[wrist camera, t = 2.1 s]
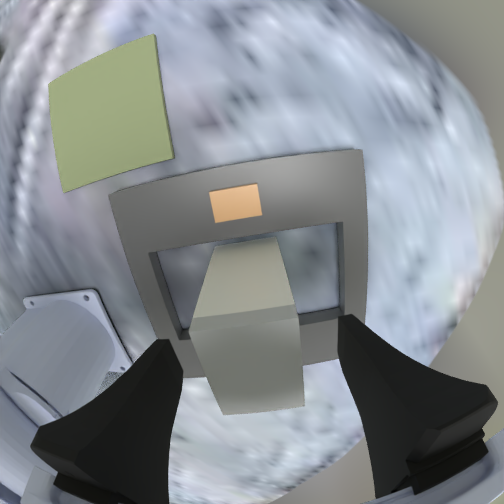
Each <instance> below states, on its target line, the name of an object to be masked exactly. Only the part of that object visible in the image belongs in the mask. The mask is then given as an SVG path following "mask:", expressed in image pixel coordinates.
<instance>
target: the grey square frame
mask: <svg viewBox="0 0 504 504" xmlns="http://www.w3.org/2000/svg"><path fill="white" fill-rule="evenodd" d="M109 199H110V203H111V207H112V211H113V215H114V218H115V222H116V225H117V229H118V232H119V236H120V239H121V242H122V245H123V249H124V252H125V255H126V258H127V261H128V264H129V267H130V270H131V272H132V275H133V278H134V281H135V284H136V286H137V289H138V292H139V294H140V297H141V300H142V302H143V305H144V307H145V310H146V312H147V315H148V317H149V319H150V322H151V324H152V326H153V329H154V331H155V333H156V336H157V338H158V339H169V340H170V342H171V344H172V346H173V349H174V351H175V353H176V356H177V358H178V360H179V362H180V364H181V366H182V369H183V371H184V372H183V378H196V377H206V375H205V373H204V370H203V368H202V365H201V363H200V360H199V358H198V355H197V353H196V350H195V348H194V345H193V343H192V340H191V337H190V335H189V329H185V330H182V327H181V324H180V322H179V319H178V316H177V313H176V311H175V308H174V305H173V302H172V299H171V296H170V294H169V291H168V288H167V285H166V282H165V278H164V275H163V272H162V269H161V266H160V263H159V259H158V256H157V253H156V251H162V250H167V249H173V248H179V247H185V246H191V245H196V244H202V243H208V242H214V241H220V240H226V239H232V238H239V237H245V236H251V235H257V234H264V233H270V232H276V231H283V230H289V229H296V228H302V227H309V226H316V225H322V224H329V223H336V222H337V232H338V251H339V285H340V307H338V308H333V309H328V310H323V311H317V312H312V313H306V314H300V315H298V318H299V329H300V341H301V354H302V366H304V365H310V364H315V363H320V362H325V361H330V360H335V359H339V357H338V353H337V343H338V316H343V315H348V314H353V315H354V316H355V317H357V318H358V319H359V320H360V321H361V322H362V323H364V324H365V315H366V300H367V278H368V219H367V197H366V183H365V170H364V160H363V151H362V150H360V149H349V150H336V151H325V152H314V153H305V154H297V155H289V156H281V157H274V158H267V159H260V160H254V161H248V162H242V163H236V164H230V165H225V166H220V167H214V168H209V169H204V170H200V171H195V172H190V173H186V174H181V175H177V176H173V177H169V178H164V179H160V180H156V181H152V182H149V183H145V184H141V185H137V186H134V187H130V188H127V189H123V190H120V191H117V192H114V193H112V194H109Z"/></svg>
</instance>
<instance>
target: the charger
mask: <svg viewBox="0 0 504 504" xmlns="http://www.w3.org/2000/svg"><path fill="white" fill-rule="evenodd" d="M189 335H190V337H191V340H192V343H193V345H194V348H195V350H196V353H197V355H198V358H199V360H200V363H201V365H202V368H203V370H204V373H205V375H206V377H207V380H208V382H209V385H210V387H211V389H212V391H213V394H214V396H215V398H216V400H217V403H218V405H219V407H220V409H221V411H222V414H223V415H234V414H248V413H258V412H267V411H276V410H283V409H290V408H296V407H302V406H305V399H304V382H303V367H302V354H301V341H300V329H299V318H298V314H297V310H296V306H295V303H294V299H293V295H292V292H291V288H290V284H289V281H288V277H287V274H286V270H285V266H284V263H283V259H282V256H281V252H280V249H279V245H278V242H277V238H276V236H275V237H269V238H262V239H256V240H250V241H244V242H237V243H231V244H225V245H219V246H215V248H214V251H213V254H212V257H211V260H210V263H209V266H208V269H207V273H206V276H205V279H204V282H203V285H202V288H201V292H200V295H199V298H198V301H197V305H196V308H195V311H194V315H193V318H192V321H191V325H190V328H189Z"/></svg>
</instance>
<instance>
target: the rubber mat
mask: <svg viewBox="0 0 504 504" xmlns="http://www.w3.org/2000/svg"><path fill="white" fill-rule="evenodd" d="M48 88H49V105H50V117H51V126H52V134H53V142H54V148H55V154H56V160H57V166H58V171H59V176H60V180H61V185H62V189H63V193H66V192H68V191H71V190H73V189H76V188H79V187H81V186H84V185H87V184H90V183H93V182H95V181H98V180H101V179H104V178H107V177H110V176H113V175H116V174H120V173H123V172H126V171H129V170H133V169H136V168H139V167H143V166H146V165H150V164H154V163H157V162H161V161H165V160H169V159H173V158H175V157H174V151H173V146H172V141H171V135H170V130H169V124H168V119H167V113H166V107H165V100H164V94H163V87H162V81H161V74H160V66H159V59H158V51H157V42H156V35H155V34H151V35H148V36H145V37H142V38H140V39H137V40H134V41H132V42H129V43H127V44H124V45H122V46H119V47H117V48H115V49H112V50H110V51H108V52H106V53H103V54H101V55H99V56H97V57H95V58H93V59H91V60H89V61H87V62H85V63H83V64H81V65H79V66H78V67H76V68H74V69H72V70H70V71H69V72H67V73H65V74H63V75H62V76H60V77H58V78H57V79H55V80H54V81H52V82H50V83H49V84H48Z"/></svg>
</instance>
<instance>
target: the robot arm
mask: <svg viewBox="0 0 504 504" xmlns="http://www.w3.org/2000/svg"><path fill="white" fill-rule="evenodd" d="M86 295H87V296H88V297H89V298H87V296H86ZM23 303H24V306H25V308H26V311H25V312H24V313H23V314H22V315H21V316H20V317H19V318H18V319H17V320H16V321H15V322H14V323H13V324H12V325H11V326H10V327H9V328H8V329H7V330H6V331H5V332H4V333H3V334H2V335H1V337H0V504H169V492H168V465H169V449H170V439H171V433H172V428H173V424H174V420H175V416H176V412H177V408H178V404H179V399H180V395H181V391H182V383H183V372H184V371H183V369H182V366H181V364H180V362H179V360H178V358H177V356H176V353H175V351H174V349H173V346H172V344H171V342H170V340H169V339H157V340H156V341H155V342H154V343H153V344H152V345H151V346H150V347H149V348H148V349H147V350H146V351H145V352H144V353H143V354H142V355H141V356H140V357H139V358H138V359H137V360H136V362H135V363H134V364H132V362H131V360H130V358H129V357H128V355H127V353H126V351H125V349H124V347H123V346H122V344H121V342H120V340H119V338H118V336H117V334H116V332H115V330H114V328H113V326H112V324H111V322H110V319H109V317H108V315H107V313H106V311H105V309H104V306H103V304H102V302H101V300H100V297H99V295H98V293H97V292H96V291H95V290H93V289H88V290H80V291H72V292H64V293H56V294H48V295H39V296H31V297H25V298H24V299H23ZM337 353H338V357H339V361H340V364H341V368H342V371H343V374H344V376H345V379H346V381H347V384H348V386H349V389H350V391H351V394H352V396H353V399H354V401H355V404H356V406H357V409H358V411H359V414H360V417H361V420H362V424H363V428H364V432H365V436H366V441H367V445H368V450H369V455H370V460H371V466H372V472H373V479H374V486H375V497H376V499H375V500H372V501H368V502H365V503H362V504H490V503H491V502H492V501H494V500H495V499H496V498H497V497H498V496H500V495H501V494H502V493H503V492H504V429H502V430H501V431H500V432H498V433H497V434H495V435H494V436H493V437H491V438H490V439H489V440H488V441H487V442H485V443H484V441H483V439H482V438H483V437H484V436H485V433H484V431H483V429H482V427H483V426H484V425H485V424H486V422H487V421H488V420H489V419H490V417H491V416H492V415H493V413H494V412H495V410H496V408H497V405H498V401H497V400H496V398H495V397H494V395H493V394H492V392H491V391H490V389H489V388H488V387H487V386H486V385H484V384H478V383H474V382H469V381H465V380H461V379H458V378H455V377H451V376H448V375H446V374H443V373H440V372H438V371H436V370H433V369H431V368H429V367H427V366H425V365H423V364H421V363H419V362H417V361H415V360H413V359H412V358H410V357H408V356H406V355H405V354H403V353H401V352H400V351H399V350H397V349H396V348H394V347H393V346H391V345H390V344H388V343H387V342H386V341H385V340H383V339H382V338H381V337H379V336H378V335H377V334H376V333H374V332H373V331H372V330H371V329H370V328H368V327H367V326H366V325H365V324H364V323H362V322H361V321H360V320H359V319H358V318H357V317H355V316H354V315H353V314H348V315H343V316H338V343H337ZM108 372H125V373H124V374H123V375H122V376H121V377H119V378H118V379H117V380H116V381H115V382H114V383H113V384H112V385H111V386H110V387H109V388H107V389H106V390H105V391H104V392H102V393H101V394H100V395H98V396H97V397H96V395H97V393H98V391H99V388H100V386H101V384H102V382H103V380H104V378H105V376H106V375H107V373H108ZM95 397H96V398H95Z"/></svg>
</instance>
